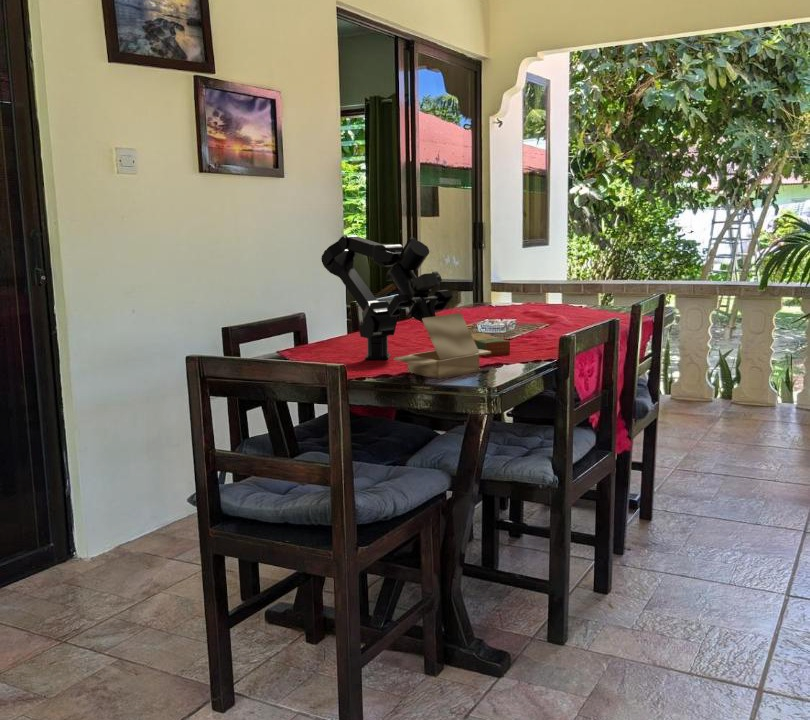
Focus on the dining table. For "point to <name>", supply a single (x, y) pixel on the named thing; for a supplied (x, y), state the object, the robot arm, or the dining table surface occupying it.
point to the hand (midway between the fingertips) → (435, 327)
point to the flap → (450, 336)
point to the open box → (441, 364)
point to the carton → (491, 344)
